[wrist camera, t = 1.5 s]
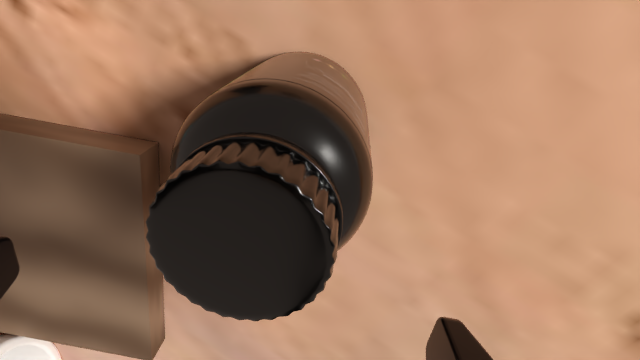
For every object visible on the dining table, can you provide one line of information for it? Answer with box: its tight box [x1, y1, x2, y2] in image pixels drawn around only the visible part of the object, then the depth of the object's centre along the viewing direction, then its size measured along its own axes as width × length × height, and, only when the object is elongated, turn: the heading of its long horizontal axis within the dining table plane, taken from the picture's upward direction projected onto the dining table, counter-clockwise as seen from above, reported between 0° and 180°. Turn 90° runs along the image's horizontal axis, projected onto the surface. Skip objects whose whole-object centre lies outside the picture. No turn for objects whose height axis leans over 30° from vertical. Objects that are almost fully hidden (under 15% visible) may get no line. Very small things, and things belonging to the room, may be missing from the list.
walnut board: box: [0, 114, 165, 360], centre depth 24 cm, size 16×16×2 cm
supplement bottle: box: [146, 52, 373, 321], centre depth 15 cm, size 7×7×12 cm
